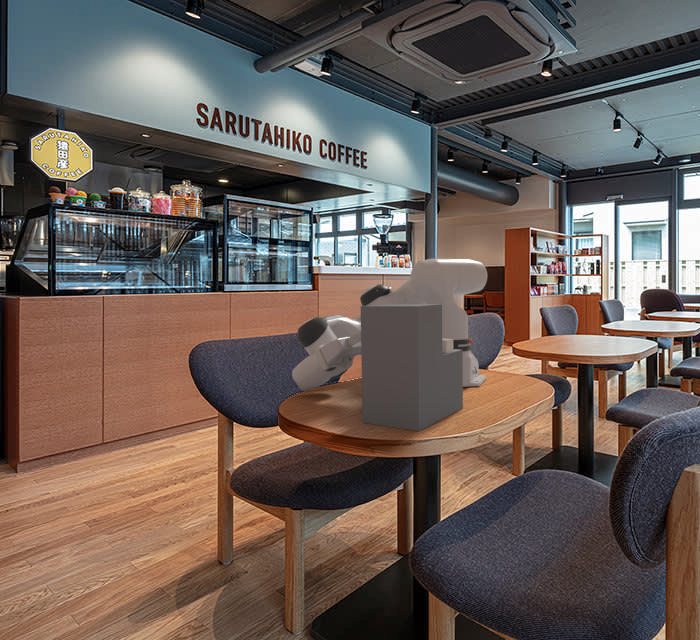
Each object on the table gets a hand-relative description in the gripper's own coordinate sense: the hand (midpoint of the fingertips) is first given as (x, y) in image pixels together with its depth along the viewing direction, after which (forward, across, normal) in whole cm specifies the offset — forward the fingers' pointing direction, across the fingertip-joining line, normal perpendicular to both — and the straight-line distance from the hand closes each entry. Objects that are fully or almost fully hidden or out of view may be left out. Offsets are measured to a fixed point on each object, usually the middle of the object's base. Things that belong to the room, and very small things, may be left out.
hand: (374, 332), depth 131 cm
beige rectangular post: (+7, 0, -9) cm, 11 cm away
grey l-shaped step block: (+3, +6, -23) cm, 24 cm away
